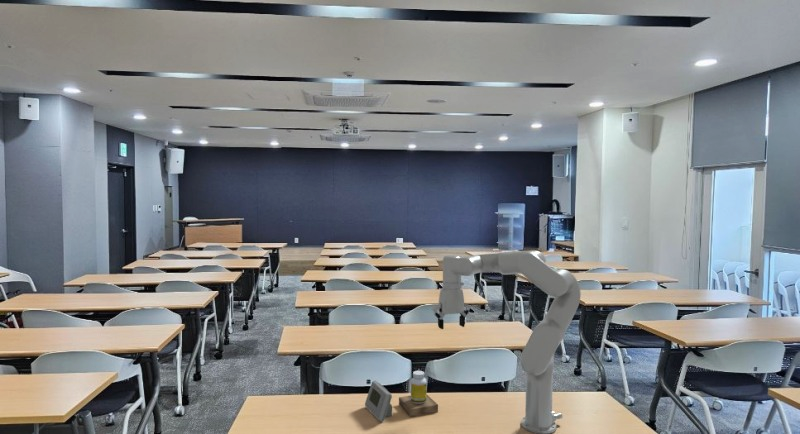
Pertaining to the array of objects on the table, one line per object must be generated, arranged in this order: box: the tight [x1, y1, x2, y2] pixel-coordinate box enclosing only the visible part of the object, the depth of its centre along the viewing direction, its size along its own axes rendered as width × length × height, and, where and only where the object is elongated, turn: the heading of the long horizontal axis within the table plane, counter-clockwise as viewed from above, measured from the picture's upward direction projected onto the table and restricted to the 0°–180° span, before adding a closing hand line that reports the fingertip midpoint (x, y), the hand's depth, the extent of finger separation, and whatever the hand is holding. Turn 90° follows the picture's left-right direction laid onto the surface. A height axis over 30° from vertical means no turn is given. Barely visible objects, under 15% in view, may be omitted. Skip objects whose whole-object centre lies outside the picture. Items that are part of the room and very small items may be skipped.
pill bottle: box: [410, 370, 428, 404], centre depth 187 cm, size 6×6×12 cm
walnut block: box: [398, 394, 439, 418], centre depth 187 cm, size 12×12×3 cm
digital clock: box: [364, 380, 393, 423], centre depth 182 cm, size 16×9×11 cm, turn 14°
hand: (451, 327), depth 189 cm, fingers open, 9 cm apart
